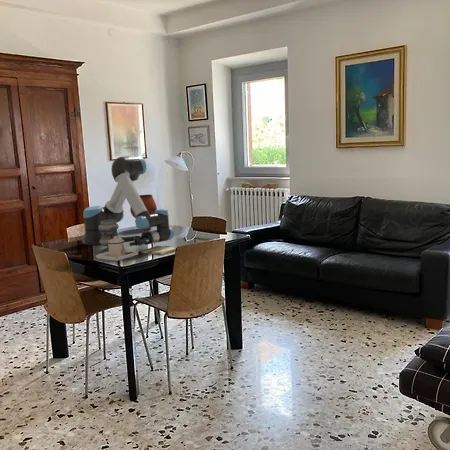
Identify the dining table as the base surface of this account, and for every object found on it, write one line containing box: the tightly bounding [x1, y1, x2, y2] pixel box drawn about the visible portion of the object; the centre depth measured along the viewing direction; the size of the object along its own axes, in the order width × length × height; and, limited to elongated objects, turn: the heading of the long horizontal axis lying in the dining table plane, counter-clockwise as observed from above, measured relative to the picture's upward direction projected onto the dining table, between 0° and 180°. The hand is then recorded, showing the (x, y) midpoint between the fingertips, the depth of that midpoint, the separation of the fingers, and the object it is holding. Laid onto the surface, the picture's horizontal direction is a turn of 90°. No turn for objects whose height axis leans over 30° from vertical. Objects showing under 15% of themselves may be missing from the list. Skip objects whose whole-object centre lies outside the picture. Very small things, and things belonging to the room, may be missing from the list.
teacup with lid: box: [108, 236, 126, 257], centre depth 272 cm, size 12×9×12 cm
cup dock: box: [95, 251, 139, 262], centre depth 274 cm, size 23×16×2 cm
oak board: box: [140, 245, 176, 256], centre depth 280 cm, size 16×14×1 cm
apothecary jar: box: [98, 220, 120, 253], centre depth 288 cm, size 12×12×18 cm
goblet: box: [129, 194, 158, 231], centre depth 358 cm, size 19×19×25 cm
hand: (117, 243), depth 271 cm, fingers open, 13 cm apart
